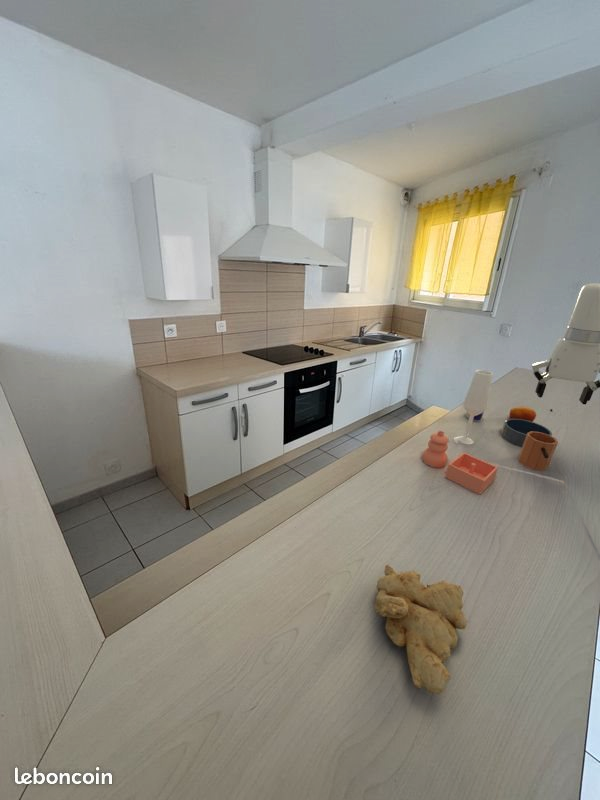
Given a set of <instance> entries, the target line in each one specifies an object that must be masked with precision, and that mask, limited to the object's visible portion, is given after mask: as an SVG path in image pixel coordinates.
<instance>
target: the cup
mask: <svg viewBox="0 0 600 800" xmlns="http://www.w3.org/2000/svg"><path fill="white" fill-rule="evenodd" d="M558 441H559V440H558V439H557V438H556V437H554V436H553V435H552V436H550V435H548V434H544V433H541V432H534V431H531V432H528V433H527V435H526V438H525V441H524V443H523V446H522V447H521V449H520V452H519V455H518V457H517V460H518V463H519V464H521V465H522V466H523V467H526V468H528V469H531V470H534V471H541V472H544V471H546V470H548V467H549V466H550V464H551V460H552V458H553V456H554V453H555V451H556V449H557V446H558V444H559V442H558Z"/></svg>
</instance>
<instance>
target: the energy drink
mask: <svg viewBox="0 0 600 800" xmlns="http://www.w3.org/2000/svg"><path fill="white" fill-rule="evenodd" d="M484 413H485V411H484V412H483V413H481V414H479V415H476V416H474V418H473V422H474V423H481V422H482V420H483V416H484ZM469 417H470V414H468V412H467V411H466V414H465V419H466V420H468V421H469ZM473 422H472V423H473Z"/></svg>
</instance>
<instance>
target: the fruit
mask: <svg viewBox="0 0 600 800" xmlns="http://www.w3.org/2000/svg"><path fill="white" fill-rule="evenodd" d="M536 417H537V413H536V411H535V410H534V409H532V407H527V406H522V405H520V406H516V407H512V408H511V409H510V410H509V417H508V418H509V419H522V420H527V421H531V422H534V421H535V419H536Z"/></svg>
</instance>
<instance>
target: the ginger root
mask: <svg viewBox="0 0 600 800" xmlns="http://www.w3.org/2000/svg"><path fill="white" fill-rule="evenodd" d="M383 572H384V575H383V576H381V577H379V578H378V580H377V581H376V582H377V583H376V589H377V594H376V595H375V603H374V607H375V612H376V613H377V614H379V615H380V616H381V617H384V618H385V617H386V621H385V626H384V627H385V628H384V629H385V631H386V632H385V633H386V634H387V636H388V637H389V638H390V640H391V641H392V643H393V644H394V645H396V646H397V647H406V654H407V655H406V656H407V663H408V666H409V670H410V674H411V678H412V682H413V685H414V687H416V688H418V689H420V688H422V687H424V688H425V689H426V690H427V691H428V692H430V693H432V694H437V695H442V694H443V693H444V691H445V690H446V686H447V684H448V682H450V681H451V675H450V673H449V671H448V670H447V667H446V666H445V665H444V663H445V662H446V661H447V660H448V659H449V658H450V657H451V651H452V650H451V649H455V648H457V646H458V645H457V643H458V640H459V636H458V633H457V629H459V630H466V627H467V618H466V616H465V613H464V612H463V610H462V608H464V601H463V596H464V590H463V588H462V587H461V586H460V585H457V584H454V583H450V582H446V581H445V580H443V579H442V580H441V581H438V582H436V583H432V584H426V586H425V585H424V584H423V582H421V574H420V573H418V572H416V571H415V570H409V571H405V572H403V571H400V572H398V573H397V572H396V571H395V569H394V568H393V567H392V566H390V565H389V564H386V565H385V566H384V571H383Z"/></svg>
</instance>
